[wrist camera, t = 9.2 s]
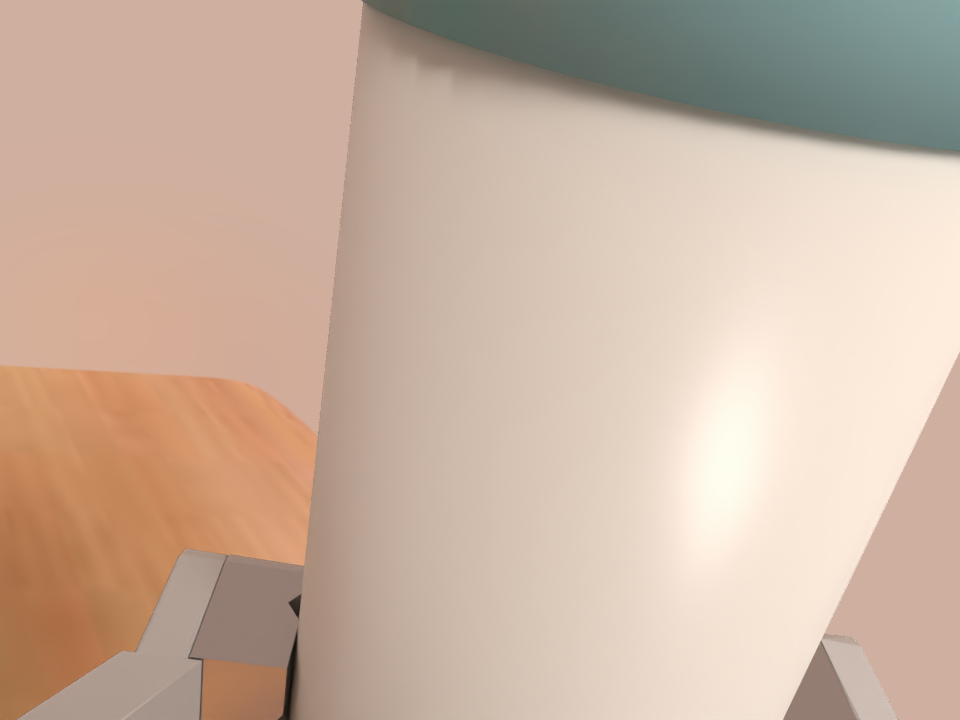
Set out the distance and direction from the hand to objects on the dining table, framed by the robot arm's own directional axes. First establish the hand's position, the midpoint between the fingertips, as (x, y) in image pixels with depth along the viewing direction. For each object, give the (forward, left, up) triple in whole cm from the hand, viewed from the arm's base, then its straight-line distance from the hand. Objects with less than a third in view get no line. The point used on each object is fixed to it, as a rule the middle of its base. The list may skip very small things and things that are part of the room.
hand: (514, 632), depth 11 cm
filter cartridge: (0, -1, -9) cm, 9 cm away
